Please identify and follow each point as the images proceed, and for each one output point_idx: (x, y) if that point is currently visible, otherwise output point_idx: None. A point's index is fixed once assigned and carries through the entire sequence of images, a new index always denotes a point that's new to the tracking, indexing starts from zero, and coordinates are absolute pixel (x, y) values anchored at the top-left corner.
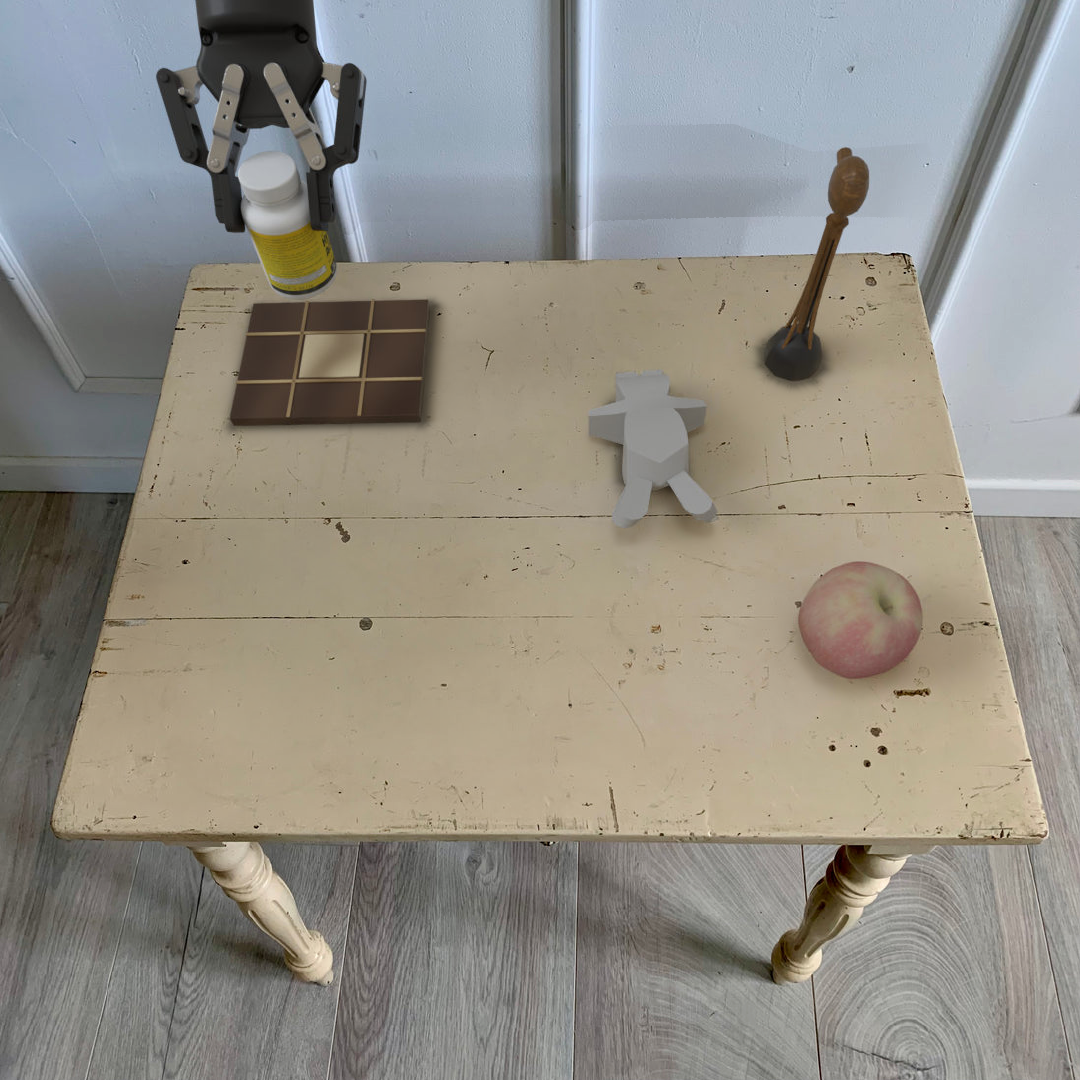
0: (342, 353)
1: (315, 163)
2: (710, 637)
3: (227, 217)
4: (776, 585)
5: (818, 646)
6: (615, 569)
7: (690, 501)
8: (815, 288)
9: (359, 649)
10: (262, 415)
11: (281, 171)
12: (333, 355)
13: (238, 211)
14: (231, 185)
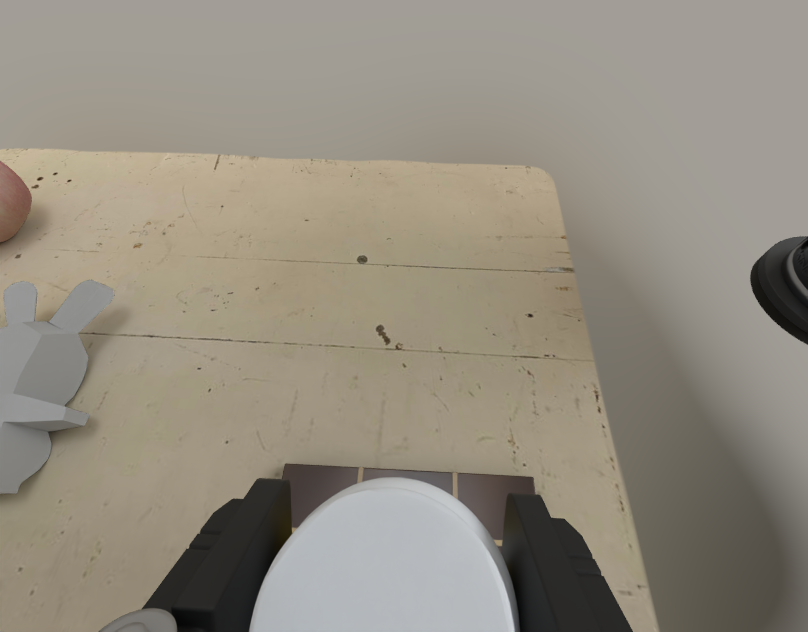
0: None
1: (140, 624)
2: (101, 238)
3: (537, 512)
4: (23, 270)
5: (14, 178)
6: (144, 288)
7: (25, 295)
8: None
9: (367, 243)
10: (489, 478)
11: (313, 607)
12: None
13: (516, 571)
14: (543, 606)
